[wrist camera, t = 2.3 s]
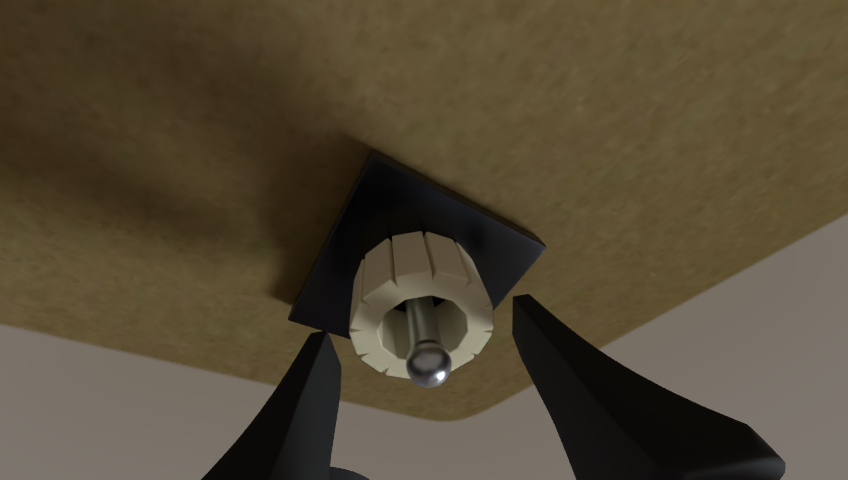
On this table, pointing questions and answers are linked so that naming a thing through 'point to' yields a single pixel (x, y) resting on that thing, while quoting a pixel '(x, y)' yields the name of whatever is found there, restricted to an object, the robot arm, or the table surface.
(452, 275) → the beige ring
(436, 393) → the table surface
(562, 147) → the table surface
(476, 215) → the stand
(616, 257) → the table surface
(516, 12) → the table surface
